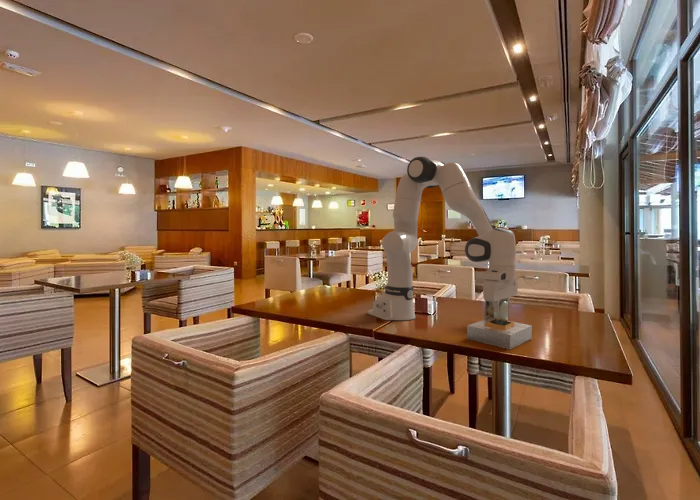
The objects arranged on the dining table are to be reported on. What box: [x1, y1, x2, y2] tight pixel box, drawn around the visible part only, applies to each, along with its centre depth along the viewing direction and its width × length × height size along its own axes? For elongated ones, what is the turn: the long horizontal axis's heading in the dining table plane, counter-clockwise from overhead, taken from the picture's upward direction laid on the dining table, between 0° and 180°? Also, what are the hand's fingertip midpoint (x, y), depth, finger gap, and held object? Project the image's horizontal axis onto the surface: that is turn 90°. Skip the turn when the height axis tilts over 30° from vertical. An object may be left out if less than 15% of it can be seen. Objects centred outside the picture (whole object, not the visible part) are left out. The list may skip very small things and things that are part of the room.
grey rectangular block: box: [466, 317, 533, 350], centre depth 141 cm, size 16×18×6 cm
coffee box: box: [483, 299, 510, 321], centre depth 159 cm, size 9×6×16 cm
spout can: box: [489, 300, 509, 326], centre depth 141 cm, size 7×5×9 cm
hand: (500, 310), depth 140 cm, fingers closed on spout can, 5 cm apart
